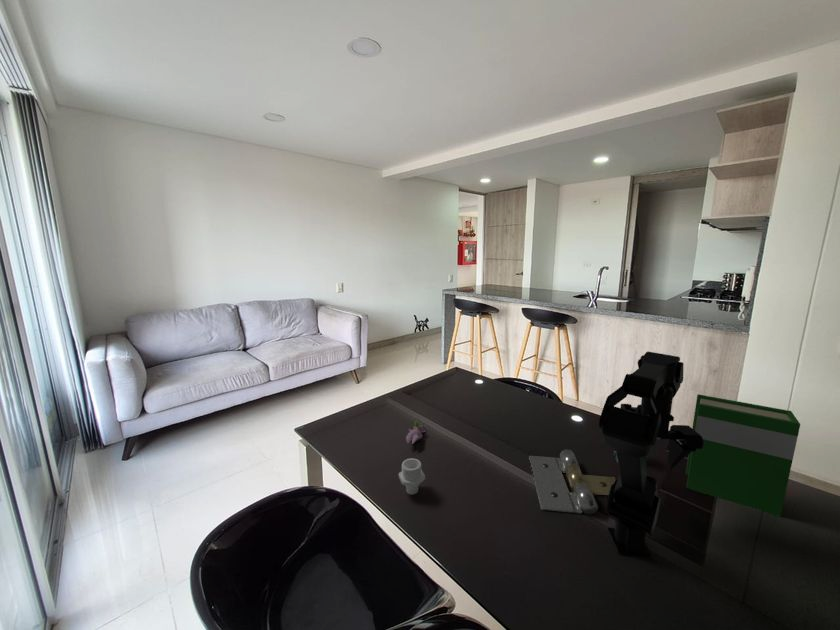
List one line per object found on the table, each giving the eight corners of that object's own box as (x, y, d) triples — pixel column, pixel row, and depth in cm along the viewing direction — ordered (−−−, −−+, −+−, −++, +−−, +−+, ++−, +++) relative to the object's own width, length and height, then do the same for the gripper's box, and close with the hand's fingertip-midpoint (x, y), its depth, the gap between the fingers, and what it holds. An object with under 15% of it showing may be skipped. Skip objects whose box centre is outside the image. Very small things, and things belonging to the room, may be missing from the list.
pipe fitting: (418, 479, 97) (417, 453, 96) (428, 495, 91) (427, 468, 89) (397, 485, 95) (396, 459, 94) (405, 502, 89) (404, 475, 87)
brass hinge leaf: (624, 498, 89) (625, 484, 88) (571, 493, 91) (572, 480, 90) (613, 480, 95) (615, 467, 95) (564, 476, 98) (565, 463, 97)
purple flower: (411, 430, 126) (400, 447, 111) (411, 414, 125) (400, 429, 111) (428, 432, 124) (419, 449, 110) (428, 416, 124) (419, 431, 109)
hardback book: (686, 488, 92) (699, 404, 87) (685, 473, 98) (697, 394, 93) (780, 516, 82) (800, 424, 77) (772, 498, 87) (791, 411, 83)
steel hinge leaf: (597, 515, 83) (598, 500, 82) (541, 509, 85) (541, 495, 85) (573, 461, 104) (574, 449, 103) (528, 458, 106) (529, 446, 105)
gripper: (678, 393, 85) (671, 449, 88) (599, 390, 88) (594, 445, 91) (710, 414, 75) (699, 478, 78) (618, 411, 77) (612, 473, 80)
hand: (648, 467), depth 82 cm, fingers open, 9 cm apart
